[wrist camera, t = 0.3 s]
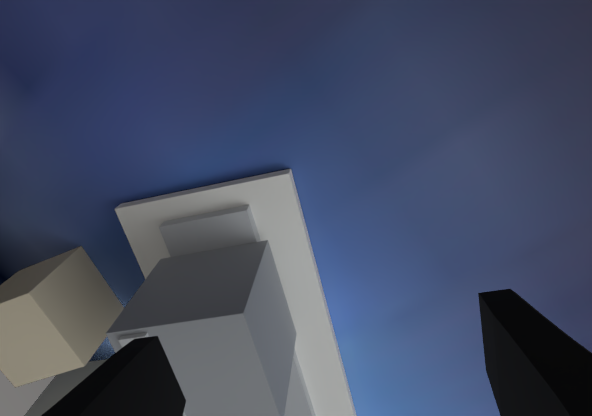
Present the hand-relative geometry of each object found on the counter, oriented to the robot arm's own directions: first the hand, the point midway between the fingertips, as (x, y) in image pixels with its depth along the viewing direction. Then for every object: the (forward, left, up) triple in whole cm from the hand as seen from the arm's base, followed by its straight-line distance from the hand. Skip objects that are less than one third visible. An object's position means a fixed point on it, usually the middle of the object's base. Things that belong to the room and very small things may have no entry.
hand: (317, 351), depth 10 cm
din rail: (-10, +6, -10) cm, 15 cm away
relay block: (-3, +14, -10) cm, 17 cm away
